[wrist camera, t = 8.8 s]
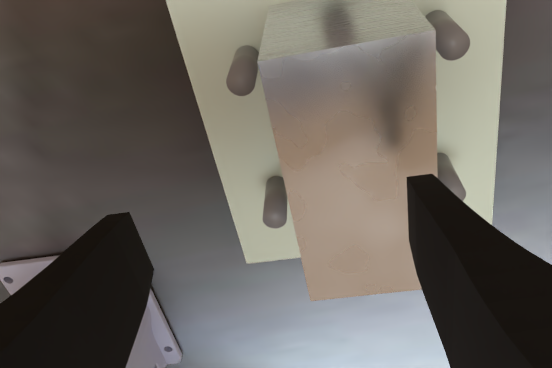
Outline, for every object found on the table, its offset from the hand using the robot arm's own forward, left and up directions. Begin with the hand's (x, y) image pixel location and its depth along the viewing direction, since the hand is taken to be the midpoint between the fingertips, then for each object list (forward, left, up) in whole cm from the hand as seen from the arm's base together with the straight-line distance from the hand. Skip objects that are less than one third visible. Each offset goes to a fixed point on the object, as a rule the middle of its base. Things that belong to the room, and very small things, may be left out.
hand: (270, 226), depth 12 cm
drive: (-1, -3, -8) cm, 9 cm away
